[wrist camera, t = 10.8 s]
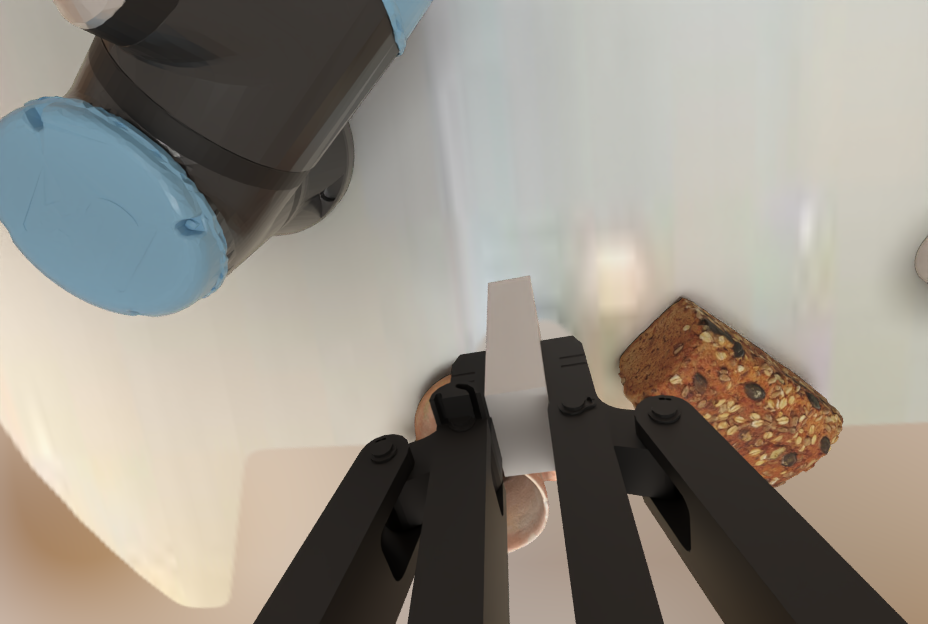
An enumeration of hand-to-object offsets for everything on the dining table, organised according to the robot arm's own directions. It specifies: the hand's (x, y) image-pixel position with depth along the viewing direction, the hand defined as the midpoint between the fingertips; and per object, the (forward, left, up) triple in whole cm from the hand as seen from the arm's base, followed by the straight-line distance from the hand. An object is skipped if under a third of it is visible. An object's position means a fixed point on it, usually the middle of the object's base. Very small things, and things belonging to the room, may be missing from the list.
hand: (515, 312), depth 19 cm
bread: (+17, -26, -30) cm, 43 cm away
